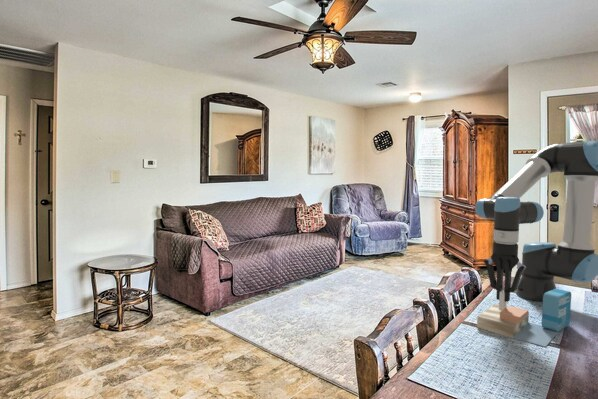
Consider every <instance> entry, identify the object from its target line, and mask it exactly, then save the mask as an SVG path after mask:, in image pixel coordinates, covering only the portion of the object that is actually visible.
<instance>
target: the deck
mask: <svg viewBox="0 0 598 399" xmlns="http://www.w3.org/2000/svg"><path fill="white" fill-rule="evenodd" d="M500 312H501V311H500V310H499V303H498V304H497V303H495V304H493V305H492V306H490V307H488V309H485V311H483V312H482V313H480V314H479V315H477V322H476V328H478V329H481V330H484V331H487V332H488V331H489V332H492V333H495V334H498V335H502V336H505V337H508V338H512V339H514V338H513V336H514V335H515V334H516V333H518V332H519V331H520V330H521V329H522V328H523V327H524V326H525V325H526V324H527V323H528V322H529V319H530V318H529V315H530V312H529V311H528V317H526V318H525V319H524V320H523V321H522V322H520V323H517V322H513V321H510V320H506V319H502V318H500Z"/></svg>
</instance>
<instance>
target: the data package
mask: <svg viewBox="0 0 598 399" xmlns="http://www.w3.org/2000/svg"><path fill="white" fill-rule="evenodd" d="M571 303H572V292H571V291H570V290H564V289H559V288H556V289H553V290H551V291H548V292H546V293H545V294H544V296H543V302H542V309H541V326H542V327H543V328H547V329H550V330H553V331H557V332H558V331H559V332H560V331H561V330H563V329H564V328H567V327H568V326H569V325H570V320H571V319H570V318H571V307H572V306H571V305H572V304H571ZM559 332H558V333H559Z"/></svg>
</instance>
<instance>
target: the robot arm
mask: <svg viewBox="0 0 598 399" xmlns="http://www.w3.org/2000/svg"><path fill="white" fill-rule="evenodd" d="M558 172H559V173H563V177H564V178H565V179H566V180H567V186H566V197H565V198H566V200H565V212H564V223H563V224H564V225H563V232H562V233H563V235H562V240H561V241H560V242H559V243H557V245H556V243H554V242H547V241H546V242H540V241H538V242H536V241H535V242H526V243H524V245H523V246H522V247H523V248H522V253H521V257H522V259H521V261H520V259H519V256H518V254H519V244H518V243H519V241H520V236H519V234H520V229H519V228H520V225H521V224H522V225H525V224H533V223H537V222H540V221H541V220H542V219H543V217H544V214H545V213H544V208H543V206H542V205H541V204H540V203H538V202H535V201H529V200H528V201H521V198H522V197H523V196H524V195H525V194H526V193H527V192H528V191H529V190H530V189H531V188H533V186H534V185H535V184H536V183H538V182H539V181H540V179H542V178H546V177H548V176H549V175H550V174H552V173H558ZM596 181H598V141H597V140H585V141H574V142H573V141H572V142H559V143H554V144H551V145H548V146H546V147H544V148H543V149H541V150H539V151H537V152H536V153H534V154H533V155H532V156H531V157H529V159H527V160H526V162H525V165H524V166H523V167H522V168H521V169H520V170H519V171H518V172H517V173H516V174H515V175H514V176H512V177H511V178H510V179H509V180H507V182H506V183H504V184H503V185H502V186H501V187H500V188H499V189H498V190H497V191H495V192H494V193H493V194H492V196H490V197H489V198H481V199H478V200H477V202H476V203H475V205H474V211H475V214H476V216H478V217H479V218H482V219H487V220H493V223H494V224H493V238H492V239H493V241H494V242H492V254H491V256H490V257H489V258H487V259H484V260H483V263H484V264H485V266H486V270H487V274H488V278H489V279H488V280H489V282H490V288H492V289H494V290H496V294H495V295H496V300H498V301H499V302H498V305H499V310H500V311H502V310H504V309H505V308H506V307H507V303H508V302H510V299H511V293H514V292H515V291H516V292H515V294H516V295H517V296H519V297H521V298H524V299H527V300H530V301H536V302H542V303H543V296H544V294H545V293H546V292H548V291H551V290H553V289H557V287H556V284H555V277H556V278H562V279H564V280H569V281H572V282H575V283H577V282H578V283H583V284H588V283H590V282H592V281H594V280H595V279H596V277H597V276H598V254H596V253H595V249H596V248H595V247H594V246H593V245H592V244H591V237H592V225H593V215H594V203H595V194H596ZM494 266H496V273H495V269H494ZM515 267H516V269H517V270H516V272H515V275H514V278H513V281H512V272H513V269H514V268H515ZM503 283H504V287H503Z"/></svg>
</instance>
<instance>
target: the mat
mask: <svg viewBox="0 0 598 399" xmlns="http://www.w3.org/2000/svg"><path fill="white" fill-rule="evenodd" d="M559 332H560V331H558V332H557V331H553V330H550V329H547V328H543V327H542V324H537V323H533V322H529V321H528V323H527V324H526V325H525V326H524V327H523V328H522V329H521V330H520V331H519V332H518V333H516V334H515V335H514V336H513V338H512V339H515V340H519V341H522V342H525V343H529V344H533V345H536V346H540V347H543V348H547V346H548V345H549V344H550V343H551V342H552V340H553V339H554V338H555V336H556V335H557V334H558V333H559Z"/></svg>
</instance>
